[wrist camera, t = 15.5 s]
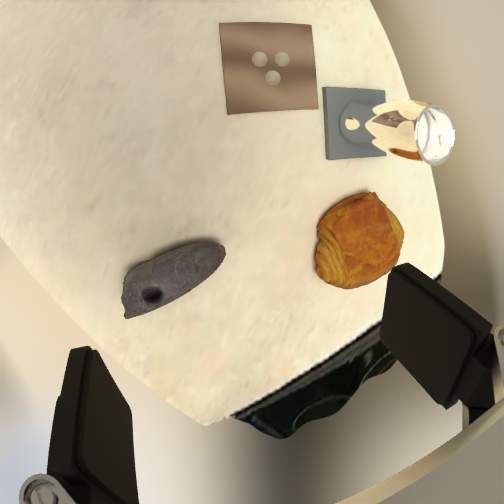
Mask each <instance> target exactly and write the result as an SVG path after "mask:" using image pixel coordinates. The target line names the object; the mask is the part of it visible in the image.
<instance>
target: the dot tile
mask: <svg viewBox="0 0 504 504" xmlns="http://www.w3.org/2000/svg"><path fill="white" fill-rule="evenodd" d="M219 29H220V40H221V51H222V61H223V72H224V83H225V93H226V103H227V114H228V115H230V114H240V113H251V112H264V111H279V110H301V109H318V94H317V80H316V68H315V57H314V46H313V37H312V28H311V25H306V24H292V23H268V22H237V23H219Z"/></svg>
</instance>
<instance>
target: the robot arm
mask: <svg viewBox="0 0 504 504" xmlns="http://www.w3.org/2000/svg"><path fill="white" fill-rule="evenodd" d="M492 326H493V325H492V324H491V323H490V322H488V321H487V320H486V319H484V318H483V317H482V316H481V315H479V314H478V313H477V312H476V311H474V310H473V309H472V308H470V307H469V306H468V305H466V304H465V303H463V302H462V301H461V300H460V299H458V298H457V297H456V296H454V295H453V294H452V293H450V292H449V291H448V290H446V289H445V288H444V287H442V286H441V285H440V284H438V283H437V282H435V281H434V280H433V279H431V278H430V277H428V276H427V275H426V274H424V273H423V272H421V271H420V270H419V269H417V268H416V267H414V266H413V265H411V264H410V263H404V264H401V265H398V266H395V267H393V268H392V270H391V273H389V275H388V280H387V288H386V296H385V303H384V310H383V317H382V323H381V329H380V339H381V341H382V343H383V344H384V345H385V346H386V347H387V348H388V349H389V351H390V352H391V353H392V354H393V355H394V356H395V357H396V358H397V359H398V360H399V361H400V363H401V364H402V365H403V366H404V367H405V368H406V369H407V370H408V371H409V373H410V374H411V375H412V376H413V377H414V378H415V379H416V380H417V382H418V383H419V384H420V385H421V386H422V387H423V388H424V389H425V391H426V392H427V393H428V394H429V395H430V396H431V397H432V398H433V400H434V401H435V402H436V403H438V404H442V405H443V407H444V408H445V409H446V410H447V409H448V408H450V407H451V406H453V405H454V404H456V403H457V402H458V400H459V399H460V400H461V402H462V407H463V409H462V410H463V430H462V431H461V432H460V433H459V434H457V435H456V436H454V437H453V438H452V439H451V440H449V441H447V442H446V443H445V444H443V445H442V446H440V447H439V448H437V449H436V450H434V451H433V452H432V453H430V454H428V455H427V456H425V457H424V458H422V459H420V460H419V461H417V462H415V463H414V464H412V465H411V466H409V467H407V468H406V469H404V470H402V471H400V472H399V473H397V474H395V475H393V476H391V477H390V478H388V479H386V480H384V481H382V482H380V483H379V484H377V485H375V486H373V487H370V488H369V489H366V490H365V491H362V492H360V493H358V494H356V495H354V496H352V497H349V498H347V499H345V500H343V501H341V502H338V503H336V504H504V325H501V326H498V327H497V328H496V330H495V332H494V334H493V335H492V334H491V333H490V331H491V329H492ZM133 445H134V444H133V426H132V413H131V409H130V407H129V405H128V403H127V402H126V400H125V398H124V397H123V395H122V393H121V392H120V390H119V388H118V387H117V385H116V383H115V382H114V380H113V378H112V376H111V374H110V373H109V371H108V369H107V367H106V365H105V363H104V362H103V360H102V358H101V356H100V354H99V353H98V351H97V350H92V349H91V347H90V346H84V347H79V348H74V349H71V350H70V353H69V357H68V362H67V366H66V371H65V375H64V380H63V385H62V390H61V395H60V396H59V397H58V399H57V402H56V407H55V413H54V420H53V425H52V432H51V439H50V447H49V456H48V465H47V474H36V475H33V476H31V477H29V478H28V479H27V480H26V481H25V482H24V483H23V485H22V487H21V489H20V494H19V502H20V504H139V499H138V490H137V481H136V471H135V459H134V446H133Z"/></svg>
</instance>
